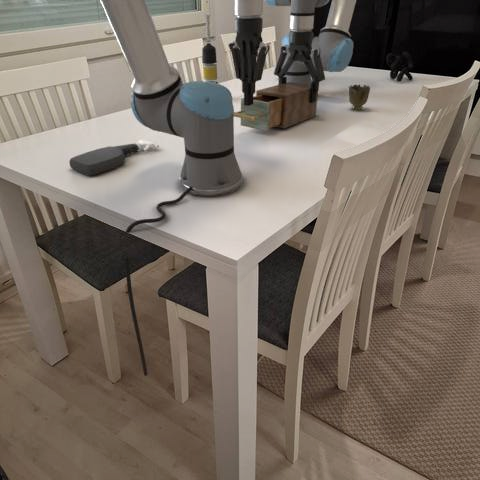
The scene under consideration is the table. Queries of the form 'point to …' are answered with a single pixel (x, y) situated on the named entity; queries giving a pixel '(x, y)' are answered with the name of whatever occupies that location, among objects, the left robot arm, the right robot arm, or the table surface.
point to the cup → (358, 96)
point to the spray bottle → (106, 157)
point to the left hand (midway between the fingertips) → (248, 104)
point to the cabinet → (293, 102)
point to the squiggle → (399, 66)
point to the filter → (209, 57)
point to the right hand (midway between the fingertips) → (297, 99)
